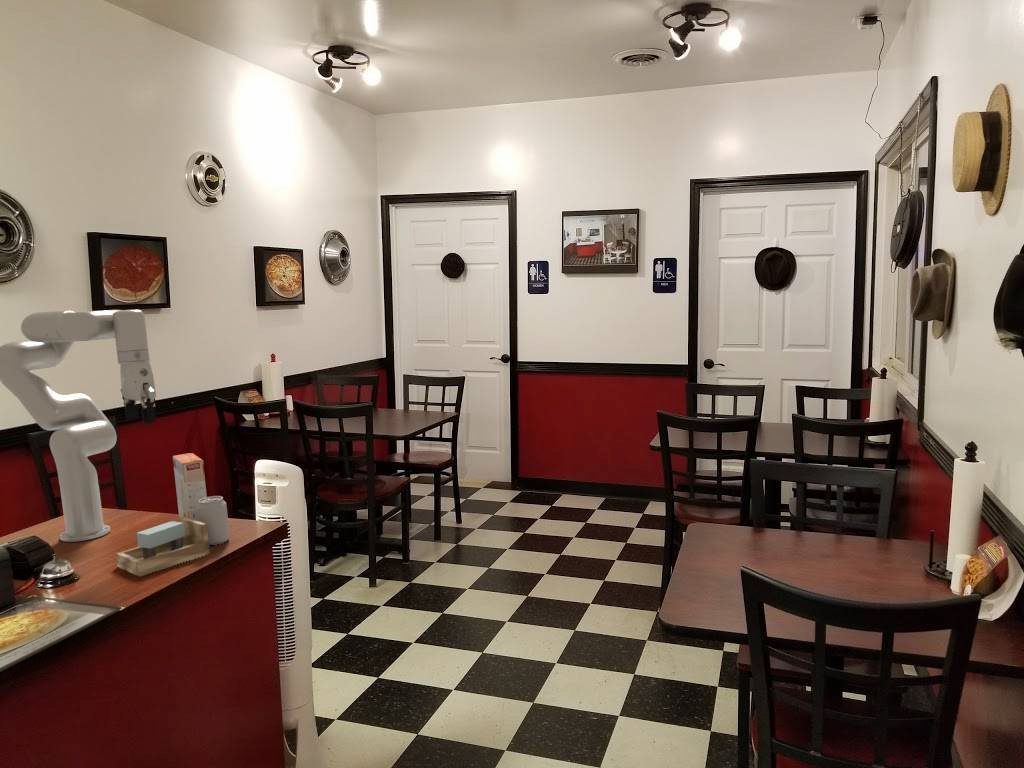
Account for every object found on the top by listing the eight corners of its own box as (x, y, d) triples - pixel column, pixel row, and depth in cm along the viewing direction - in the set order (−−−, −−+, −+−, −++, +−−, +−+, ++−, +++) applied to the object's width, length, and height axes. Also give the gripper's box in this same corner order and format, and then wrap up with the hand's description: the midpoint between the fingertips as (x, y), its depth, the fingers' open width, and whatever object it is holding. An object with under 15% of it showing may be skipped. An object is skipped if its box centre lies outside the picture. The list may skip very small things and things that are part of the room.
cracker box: (211, 533, 220) (203, 459, 217) (189, 537, 217) (180, 463, 214) (201, 521, 232) (193, 451, 229) (179, 526, 229) (171, 455, 226)
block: (173, 534, 204) (171, 521, 204) (184, 536, 202) (183, 522, 201) (138, 546, 196) (136, 532, 195) (149, 548, 193) (148, 534, 193)
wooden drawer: (117, 567, 196) (113, 535, 195) (186, 545, 210) (183, 516, 209) (139, 576, 189) (135, 544, 188) (209, 554, 202) (206, 523, 201)
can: (220, 547, 208) (215, 502, 206) (194, 546, 209) (189, 502, 207) (235, 537, 215) (231, 494, 213) (210, 537, 216) (205, 494, 215)
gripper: (163, 356, 205) (170, 421, 208) (132, 354, 217) (140, 416, 219) (134, 359, 200) (142, 426, 202) (104, 358, 211) (112, 421, 213)
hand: (141, 421), depth 210 cm, fingers open, 9 cm apart
